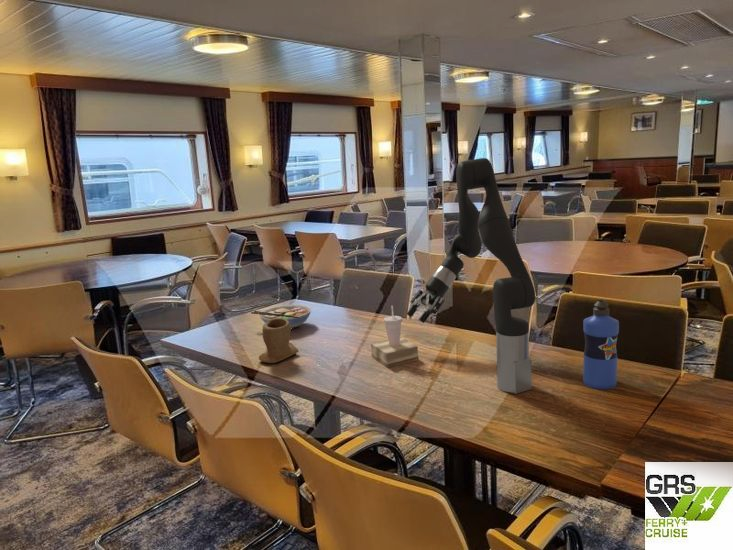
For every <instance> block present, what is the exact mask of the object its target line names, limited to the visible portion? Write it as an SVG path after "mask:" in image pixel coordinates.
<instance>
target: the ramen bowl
mask: <svg viewBox="0 0 733 550" xmlns="http://www.w3.org/2000/svg"><path fill="white" fill-rule="evenodd" d="M311 312H312V307H311V306H310V305H306V304H296V303H295V304H282V305H277V306H272V307H269V308H265V309H264V310H262V311H259V310H253V311H251V312H250V314H254V315H258V316H259V318H260V319H261V320H262V322H264V324H265V323H266V322H268V321H269V320H271V319H274V318H284V319H286V320H288V321H289V323H290V327H291V328H293V329H295V328H296V327H299V326H301V325H302V324H304V323H305V322H306V321H307V320H308V318H309V317H310V315H311ZM294 327H295V328H294Z"/></svg>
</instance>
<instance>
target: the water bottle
mask: <svg viewBox="0 0 733 550" xmlns="http://www.w3.org/2000/svg"><path fill="white" fill-rule="evenodd" d="M609 305H610V304H609V303H608V302H606V300H602V299H599V300H597V301H596V302H595V303H593V306H594V307H593V308H592V309H593V310H592V312H593V313H592V314H593V315H591V316H588V317H586V318H584V319H583V321H582V322H583V323H582V324H583V326H582V327H583V334H584V352H583V361H582V362H583V371H582V372H583V373H582V376H583V377H582V378H583V379H582V382H583V384H584V385H585V386H586V387H589V388H592V389H595V390H610V389H611V390H612V389H614V388H616V387H617V385H618V383H617V381H618V380H617V379H618V353H617V352H618V351H617V341H618V337H619V336H618V335H619V332H620V321H619V320H618V319H616V318H614V317H612V316H610V308H609Z"/></svg>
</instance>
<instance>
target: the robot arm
mask: <svg viewBox="0 0 733 550" xmlns="http://www.w3.org/2000/svg"><path fill="white" fill-rule="evenodd" d="M455 173H456V177H455V179H456V180H455V181H456V192H457V203H458V226H457V231H458V233H457V234H455V236H454V237H453V238H452V242H451V244H450V248H449V250H448V252H447V254H446V257H445V259H443V261H442V262H441V264H440V265H439V266H438V268H436V270H435V271H434V272H433V274H432V275H431V276H430V278H429V280H428V281H427V282H426V284H425V290H424V291H423V290H422V289H419V290H418V291H417V292H416V293H415V295H414V296H413V297H412V299H411V300H410V301H409V303H410V304H411V307H410V308H409V309H408V310H407V312H406V314H407V315H408V316H409V317H410V318H412V317H413V316H414V315H415V313H416V312H417V310H418V308H420V307H424V306H426V307H425V310H424V312H422V314H421V315H420V317H419V318H418V320H419V321H420V322H421V323H423V324H424V323H426V321H427V320H428V319H429V317H430V316H431V315H436V314H437V313H438V312H439V310H440V308H441V307H442V305H443V304H444V302H445V300H444V299H443V298H444V297H445V295H446V294H447V292H448V290H450V288H451V287H452V285H453V284H454V282H455V280H456V278H457V277H458V275H459V274H460V272H461V271H462V270H463V268H464V265H465V263H464V262H463V260H462V259H461V258H460V257H458V253H459V254H461V255H463V256H465V257H467V258H470V259H475V258H476V257H478V256H479V255H480V253H481V250H482V247H483V246H482V243H483V245H484V247H485V248H486V249H487V250H488V251H489V252H490V254H492V255H493V256H494V257H496V259H498V260H499V261H500V263H502V264H503V265H504V266H505V267H506V269H507V271H508V273H509V274H510V276H509V277H503V278H497V279H496V280H495V281H494V283H493V285H492V299H493V300H492V301H493V314H494V315H493V317H494V323H495V338H496V339H495V343H496V346H495V348H496V349H495V350H496V352H495V353H496V380H497V381H496V384H497V388H498V389H499V390H501V391H503V392H506V393H512V394H515V395H517V394H519V393H523V392H527V391H529V390H530V391H531V390H532V389H533V387H532V386H533V383H532V380H533V378H532V358H530V336H529V335H530V325H529V322H528V321H527V320H525V319H523V318H520V317H516V316H513V315H512V310H519V309H520V310H521V309H525V308H529V307H532V306H534V304H535V302H536V291H535V287H534V283H533V281H532V278H531V276H530V274H529V271H528V270H527V268H526V266H525V262H524V261H523V259H522V256H521V253H520V251H519V248H518V246H517V243H516V239H515V235H514V233H513V230H512V227H511V223H510V221H509V218H508V215H507V212H506V211H505V207H504V204H503V202H502V199H501V195H500V192H499V187H498V184H497V183H498V182H497V179H496V174H495V172H494V168H493V166H492V163H491V161H490V160H489V158H486V157H483V158H482V157H480V158H476V159H475V158H474V159H469V160H463V161H460V162H459V163H458V164H457V166H456V171H455ZM481 188H483V189H484V191H485V199H484V203H483V206H482V208H481V211H480V212H479V209H478V208H477V206H476V205H475V203H474V202H473V201H472V199H471V197H470V196H469V194H468V193H469V192H468V191H469V190H475V189H481Z"/></svg>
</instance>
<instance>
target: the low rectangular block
mask: <svg viewBox="0 0 733 550" xmlns="http://www.w3.org/2000/svg"><path fill="white" fill-rule="evenodd" d="M370 348H371V358H372V357H373V358H372V359H374V360H375V361H376V362H379V363H380V365H383V366H384V367H385V368H387V369H389V368H392V367H397V366H401V365H404V364H409V363H411V362H416V361H419V360H420V359H419V349H418V345H416V344H414V343H413V342H411V341H409V340H407V339H406V338H403V337H401V336H400V345H399V346H396V347H392V346H389V341H388V339H387V340H382V341H377V342H373V343H370Z"/></svg>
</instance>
